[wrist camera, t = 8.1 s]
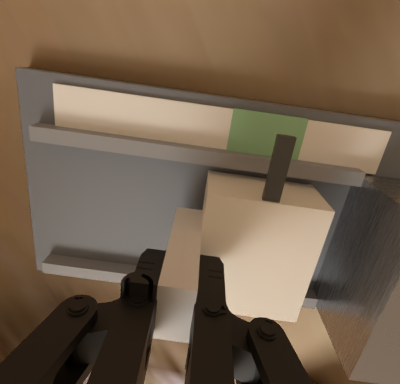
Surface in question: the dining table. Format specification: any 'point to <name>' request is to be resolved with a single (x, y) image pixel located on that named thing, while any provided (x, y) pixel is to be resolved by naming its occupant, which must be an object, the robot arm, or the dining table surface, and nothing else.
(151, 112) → the gauge bed
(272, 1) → the dining table surface
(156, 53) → the dining table surface
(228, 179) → the beige block with rod
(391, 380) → the grey flat slab
